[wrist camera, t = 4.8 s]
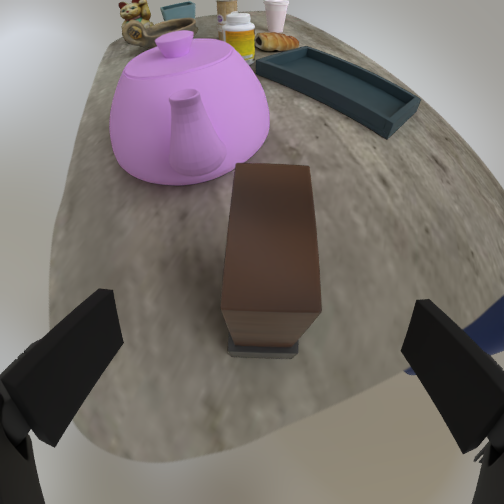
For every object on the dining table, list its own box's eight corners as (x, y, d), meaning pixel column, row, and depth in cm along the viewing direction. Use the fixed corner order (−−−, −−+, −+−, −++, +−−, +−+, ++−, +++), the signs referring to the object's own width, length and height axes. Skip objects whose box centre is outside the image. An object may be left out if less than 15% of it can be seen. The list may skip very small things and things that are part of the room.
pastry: (290, 42, 49) (291, 28, 45) (304, 51, 46) (306, 36, 42) (251, 44, 47) (251, 30, 44) (262, 54, 44) (263, 38, 41)
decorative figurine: (121, 47, 54) (111, 4, 41) (128, 39, 58) (120, 0, 45) (153, 38, 55) (146, -6, 41) (158, 32, 59) (152, -9, 45)
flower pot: (166, 37, 54) (162, 10, 46) (164, 31, 58) (160, 7, 50) (198, 30, 55) (195, 3, 48) (192, 25, 59) (190, 1, 51)
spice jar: (214, 44, 48) (210, -7, 36) (227, 39, 50) (224, -10, 38) (230, 46, 47) (228, -7, 35) (242, 41, 49) (242, -9, 37)
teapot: (125, 114, 34) (102, 36, 22) (241, 87, 36) (238, 6, 24) (121, 260, 23) (37, 146, 11) (310, 211, 25) (344, 76, 13)
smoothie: (291, 30, 54) (293, -13, 42) (282, 35, 52) (284, -13, 39) (268, 27, 56) (269, -16, 43) (258, 32, 53) (259, -14, 41)
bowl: (205, 46, 47) (201, 8, 39) (127, 66, 45) (118, 29, 36) (194, 34, 53) (191, 3, 45) (128, 51, 51) (121, 20, 42)
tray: (416, 111, 36) (421, 99, 33) (387, 139, 31) (393, 123, 28) (304, 57, 44) (306, 45, 41) (255, 74, 39) (255, 60, 36)
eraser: (292, 358, 19) (333, 323, 9) (231, 356, 19) (207, 319, 9) (291, 260, 23) (316, 160, 13) (238, 258, 23) (228, 156, 13)
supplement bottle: (260, 65, 41) (260, 15, 32) (231, 70, 40) (228, 18, 31) (247, 56, 43) (246, 11, 34) (220, 61, 42) (216, 14, 33)
